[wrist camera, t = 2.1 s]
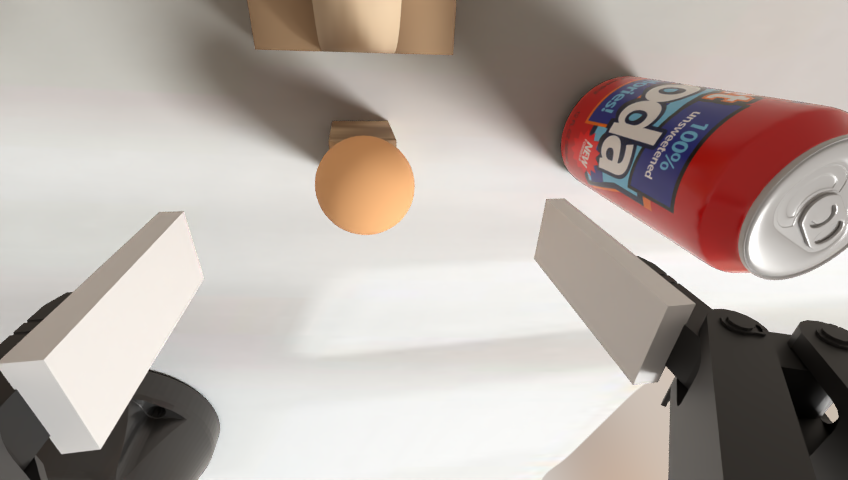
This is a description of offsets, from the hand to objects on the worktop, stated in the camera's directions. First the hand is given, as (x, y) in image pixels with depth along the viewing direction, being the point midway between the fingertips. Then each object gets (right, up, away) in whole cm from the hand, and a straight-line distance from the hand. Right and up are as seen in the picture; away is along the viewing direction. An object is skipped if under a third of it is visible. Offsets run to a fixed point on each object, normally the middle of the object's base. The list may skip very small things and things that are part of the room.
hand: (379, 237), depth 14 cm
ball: (-1, +3, +5) cm, 6 cm away
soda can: (+15, +8, +14) cm, 22 cm away
